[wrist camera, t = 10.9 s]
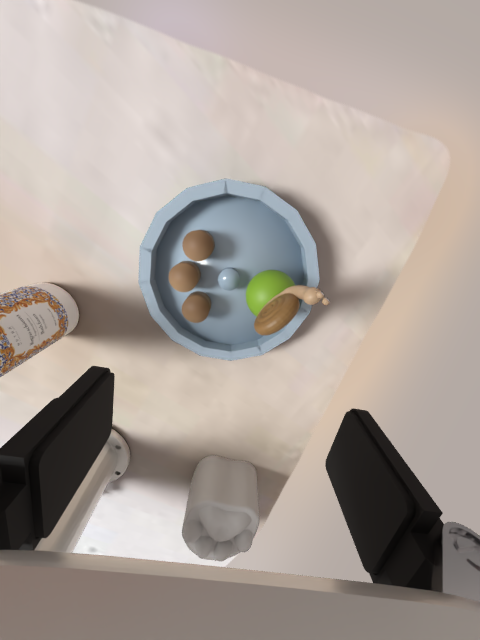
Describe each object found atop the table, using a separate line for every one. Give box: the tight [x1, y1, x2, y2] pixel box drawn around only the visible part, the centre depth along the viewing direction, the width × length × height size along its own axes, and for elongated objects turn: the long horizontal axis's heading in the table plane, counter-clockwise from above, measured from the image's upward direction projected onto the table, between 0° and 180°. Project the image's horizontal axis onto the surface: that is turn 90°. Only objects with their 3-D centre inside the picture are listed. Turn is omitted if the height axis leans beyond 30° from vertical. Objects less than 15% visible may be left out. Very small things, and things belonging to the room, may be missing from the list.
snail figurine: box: [246, 270, 330, 335], centre depth 24 cm, size 5×6×12 cm
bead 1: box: [182, 230, 215, 261], centre depth 26 cm, size 3×3×2 cm
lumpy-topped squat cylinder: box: [182, 455, 259, 561], centre depth 39 cm, size 10×13×9 cm
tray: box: [139, 179, 320, 361], centre depth 29 cm, size 19×19×3 cm
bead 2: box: [169, 261, 201, 292], centre depth 28 cm, size 3×3×2 cm
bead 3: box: [182, 291, 211, 323], centre depth 29 cm, size 3×3×2 cm
